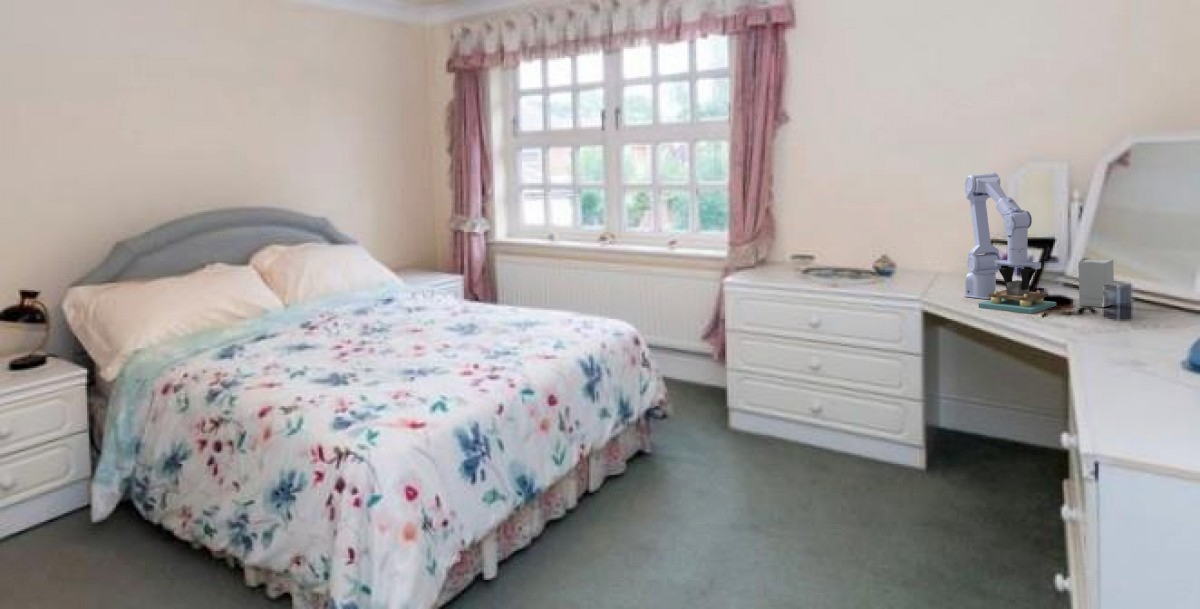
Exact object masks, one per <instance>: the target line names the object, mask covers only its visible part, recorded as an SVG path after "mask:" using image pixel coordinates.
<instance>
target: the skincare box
mask: <svg viewBox="0 0 1200 609" xmlns="http://www.w3.org/2000/svg"><path fill="white" fill-rule="evenodd" d="M1114 275H1115V274H1114V259H1088V258H1087V259H1083V260H1082V261H1079V262H1078V288H1079V289H1078V295H1079V296H1078V297H1079V298H1078V300H1079V302H1078V304H1079V307H1081V306H1083V307H1092V308H1093V307H1095V308H1103V307H1102V303H1103V286H1104V284H1105V283H1111V282H1114V283H1115V281H1114V280H1115V278H1114V277H1115V276H1114Z"/></svg>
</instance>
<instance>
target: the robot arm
mask: <svg viewBox="0 0 1200 609" xmlns="http://www.w3.org/2000/svg"><path fill="white" fill-rule="evenodd" d="M964 193H965V198H966V200H968V201H969V206H970V215H971V223H972V231H973V232H972V233H973V239H974V247H973V248H972V249H971V250H969V251H968V252H967V268H968V270H969V271H970V272H967V274H966V276H965V285H964V286H965V288H964V289H965V291H964V294H965V295H963V297H964V298H971V299H983V300H991V297H989V294H991V293H995V291H997V288H996V287H997V284H996V281H997V278H996V277H997V273H1000V275H1001V276H1002V279H1003V282H1004V284H1005V288H1006V289H1005V290H1007V283H1008V282H1012V281H1013V276H1014V275H1013V274H1014V271H1015V268H1019V272H1020V276H1021V280H1022V290H1027V289H1028V286H1029V287H1030V283H1031V279H1032V278H1033V276H1034V274H1035V272H1037V270H1040V269H1042V262H1040V261H1038V262H1037V261H1029V260H1028V235H1029V234H1028V232H1029V231H1028V229H1030V228H1031V226H1032V223H1033V219H1032V218H1033V217H1032V215H1031V213H1030V212H1029V211H1028V210H1025V209H1022V208H1021V207H1020V206H1019V205H1018V204H1017V202H1016V201H1015V200H1014V199H1013V197H1009V196H1007V195H1006V193H1005V192H1004V189H1003V188H1002V186H1001V178H1000V175H999V174H998V173H997V172H992V173H983V174H981V173H980V174H969V175H968V176H967V177H966V178H965V182H964ZM989 198H992V200H993V201H994V202H995V204H996V205H995V208H996V210H997V212H998V213H999V214H1000V215H1001V217H1002V218H1003V219H1004V220H1003V225H1004V228H1005V235H1006V236H1007V259H1002V256H1001V254H1000V252H999V248H997V247H995V246H994V245H992V241H991V234H990V226H989V216H988V210H987V200H988V199H989Z"/></svg>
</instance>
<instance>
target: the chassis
mask: <svg viewBox="0 0 1200 609" xmlns="http://www.w3.org/2000/svg"><path fill="white" fill-rule="evenodd" d="M998 292H999V290H996V291H995V294H996V295H998ZM1040 293H1041V290H1036V294H1040ZM1024 297H1025V298H1027V294H1024ZM1044 299H1045V297H1044V298H1040V299H1036V300H1033V301H1022V300H1012V299H1003V298H994V297H991V299H988V300H986V301H983V302H979V303H978V308H980V309H985V310H996V311H1004V312H1010V313H1011V312H1013V313H1022V314H1029V315H1032V314H1037V313H1039V311H1040V312H1043V311H1046V310H1045V309H1047V308H1050V307H1054V306H1056V307H1057V301H1049V300H1048V301H1047V300H1044ZM1054 308H1055V307H1054ZM1050 309H1051V308H1050ZM1042 310H1043V311H1042ZM1047 310H1048V309H1047ZM1036 312H1037V313H1036Z"/></svg>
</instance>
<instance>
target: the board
mask: <svg viewBox="0 0 1200 609" xmlns="http://www.w3.org/2000/svg"><path fill="white" fill-rule="evenodd" d="M1024 294H1027V298H1025V297H1024ZM989 297H994V298H1003V299H1012V300H1022V301H1033V300H1036V299H1040V298H1044V299H1045V298H1046V297H1048V292H1047V293H1046V292H1040V294H1036V292H1035V291H1030V285H1029V286H1028V289H1027V290H1022V279H1017V280H1012V282H1008V283H1007V289H1002V290H998V295H996V294H995V293H991V294H989Z"/></svg>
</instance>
